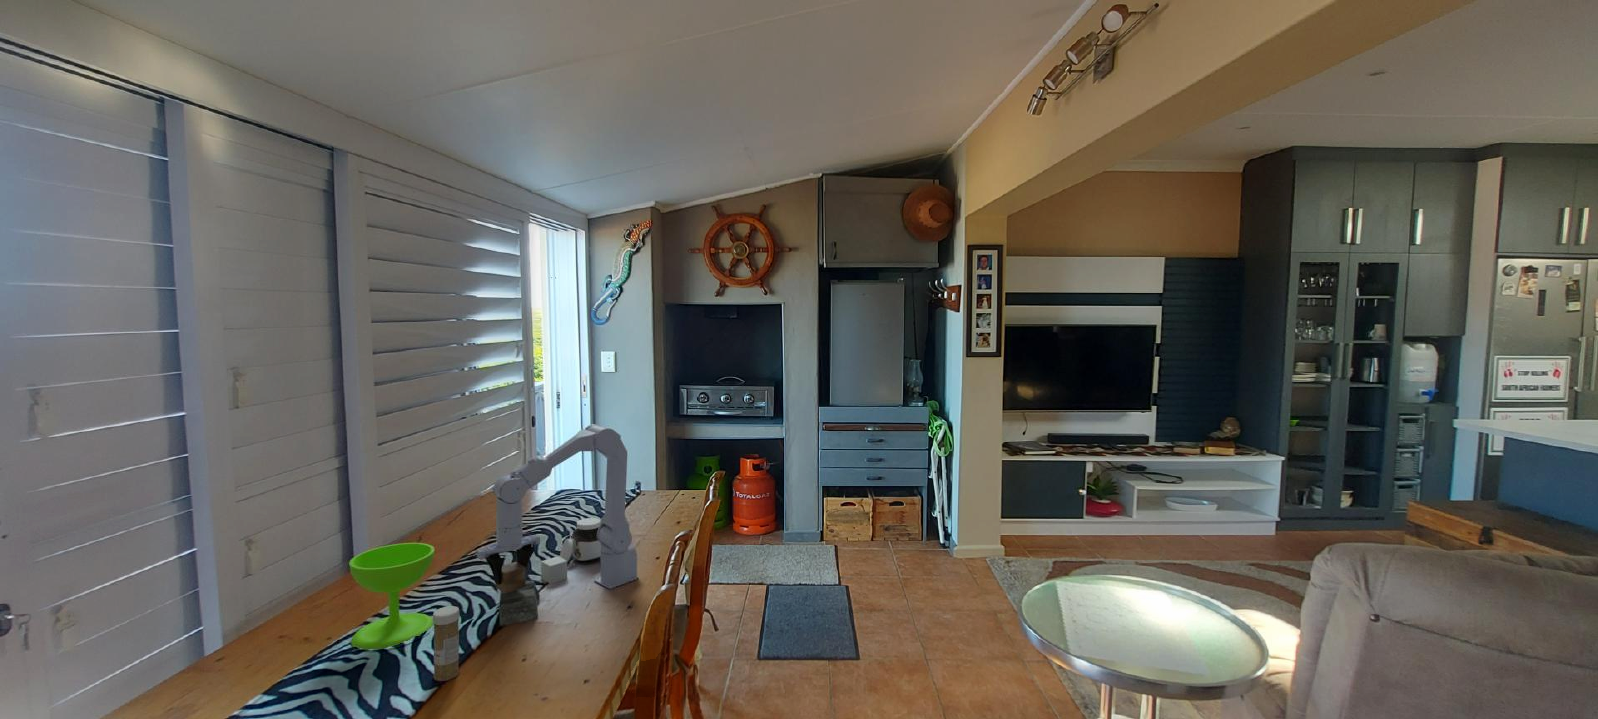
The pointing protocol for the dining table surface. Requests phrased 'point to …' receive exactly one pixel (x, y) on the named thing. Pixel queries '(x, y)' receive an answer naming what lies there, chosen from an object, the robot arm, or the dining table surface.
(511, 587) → the walnut cube
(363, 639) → the wineglass
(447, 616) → the sprinkles bottle
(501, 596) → the stone block
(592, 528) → the spread jar
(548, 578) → the grey cube
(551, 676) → the dining table surface
